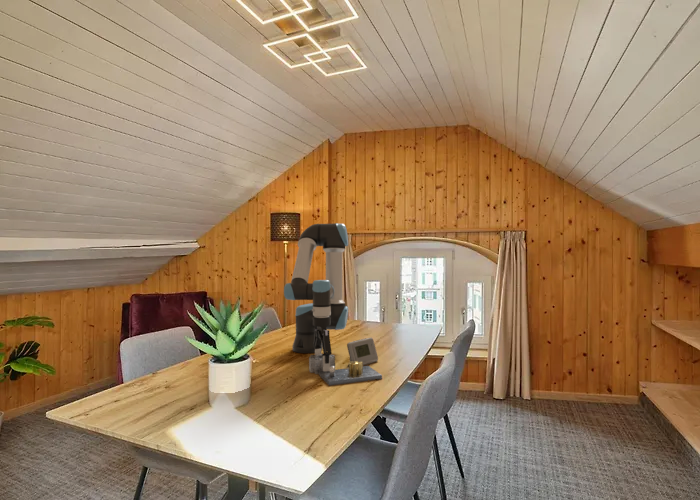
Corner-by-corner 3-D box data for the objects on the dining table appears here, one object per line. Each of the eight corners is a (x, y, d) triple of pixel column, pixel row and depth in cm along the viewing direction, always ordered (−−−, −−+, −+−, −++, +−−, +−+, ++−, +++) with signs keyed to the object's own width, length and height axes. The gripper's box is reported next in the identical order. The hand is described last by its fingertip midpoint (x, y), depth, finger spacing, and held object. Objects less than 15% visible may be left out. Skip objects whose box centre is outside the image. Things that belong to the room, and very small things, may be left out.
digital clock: (352, 369, 184) (352, 344, 184) (341, 364, 192) (341, 340, 191) (383, 363, 193) (382, 339, 193) (371, 358, 200) (371, 336, 200)
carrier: (319, 375, 176) (318, 361, 176) (368, 369, 183) (368, 356, 183) (329, 385, 163) (328, 371, 162) (381, 378, 170) (381, 365, 170)
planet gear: (306, 368, 185) (306, 354, 185) (330, 365, 189) (330, 352, 189) (313, 375, 175) (313, 361, 175) (338, 372, 179) (338, 358, 179)
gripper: (306, 313, 192) (306, 361, 192) (321, 320, 169) (321, 375, 169) (322, 312, 195) (322, 360, 194) (339, 319, 172) (339, 373, 171)
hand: (322, 367), depth 182 cm, fingers open, 12 cm apart
